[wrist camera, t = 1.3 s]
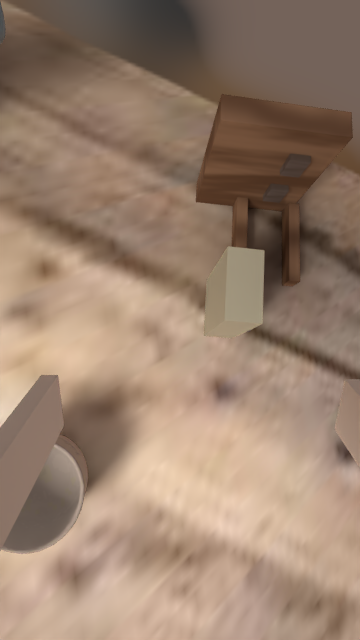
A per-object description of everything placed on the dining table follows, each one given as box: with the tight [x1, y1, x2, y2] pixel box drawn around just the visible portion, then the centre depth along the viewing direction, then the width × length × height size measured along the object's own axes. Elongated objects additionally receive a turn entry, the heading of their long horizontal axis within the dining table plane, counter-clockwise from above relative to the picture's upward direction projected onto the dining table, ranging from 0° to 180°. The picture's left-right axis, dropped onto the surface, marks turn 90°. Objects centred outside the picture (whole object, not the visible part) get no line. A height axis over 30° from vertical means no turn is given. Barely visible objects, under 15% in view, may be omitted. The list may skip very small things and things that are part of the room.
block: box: [204, 246, 264, 338], centre depth 42 cm, size 8×5×12 cm, turn 176°
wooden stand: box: [196, 94, 353, 286], centre depth 42 cm, size 14×14×16 cm
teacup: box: [1, 435, 88, 554], centre depth 38 cm, size 14×11×8 cm
